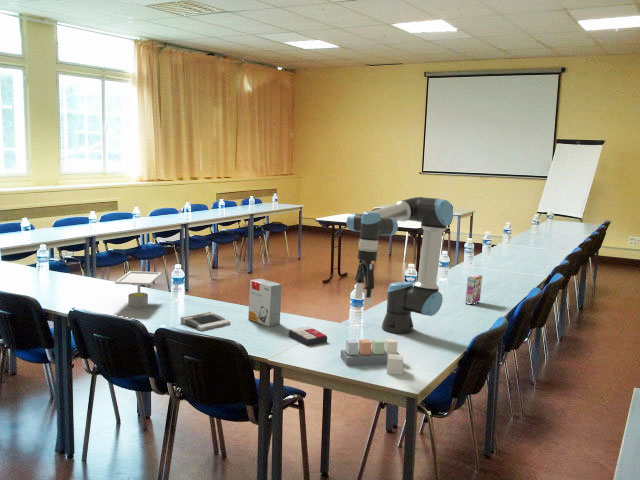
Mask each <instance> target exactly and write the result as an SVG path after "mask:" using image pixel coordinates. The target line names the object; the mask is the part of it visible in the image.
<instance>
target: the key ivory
mask: <svg viewBox="0 0 640 480" xmlns="http://www.w3.org/2000/svg"><path fill="white" fill-rule="evenodd" d="M384 342H385V344H384V351H385V352H386V353H387V354H397V352H398V341H397V340H396V339H395V338H385V339H384Z"/></svg>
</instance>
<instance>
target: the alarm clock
mask: <svg viewBox="0 0 640 480" xmlns="http://www.w3.org/2000/svg"><path fill="white" fill-rule="evenodd" d="M180 324H182V325H189V326H192V327H194V328H196V330H198V331H201V332H202V331H208V330H212V329H217V328H220V327H225V326H228V325H231V320H229V319H227V318H224V317H223V316H221V315H218V314H216V313H214V312H212V311H206V312H200V313H195V314H191V315H185V316H180Z"/></svg>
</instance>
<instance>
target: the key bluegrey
mask: <svg viewBox="0 0 640 480" xmlns="http://www.w3.org/2000/svg"><path fill="white" fill-rule="evenodd" d="M345 350H346V353H347V354H348V355H358V350H359V341H358V340H356V339H346V340H345Z"/></svg>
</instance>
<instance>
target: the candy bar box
mask: <svg viewBox="0 0 640 480" xmlns="http://www.w3.org/2000/svg"><path fill="white" fill-rule="evenodd" d="M466 281H467V285H466V291H465V293H466V294H465V302H466V303H470V304H474V303H476V302H478V301H481V293H482V282H483V275H481V274H473V275H470V276H467V280H466Z"/></svg>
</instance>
